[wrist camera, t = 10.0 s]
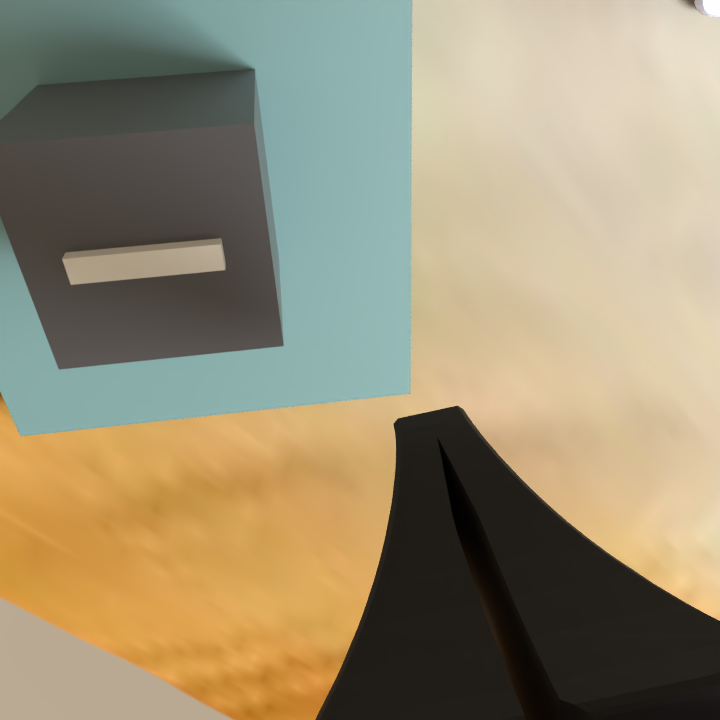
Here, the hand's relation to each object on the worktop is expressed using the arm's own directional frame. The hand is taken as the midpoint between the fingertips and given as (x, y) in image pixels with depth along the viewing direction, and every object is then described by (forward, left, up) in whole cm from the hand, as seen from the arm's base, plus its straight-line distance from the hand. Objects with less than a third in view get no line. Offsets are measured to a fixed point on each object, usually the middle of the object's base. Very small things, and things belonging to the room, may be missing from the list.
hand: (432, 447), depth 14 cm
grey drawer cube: (+6, -3, -8) cm, 10 cm away
